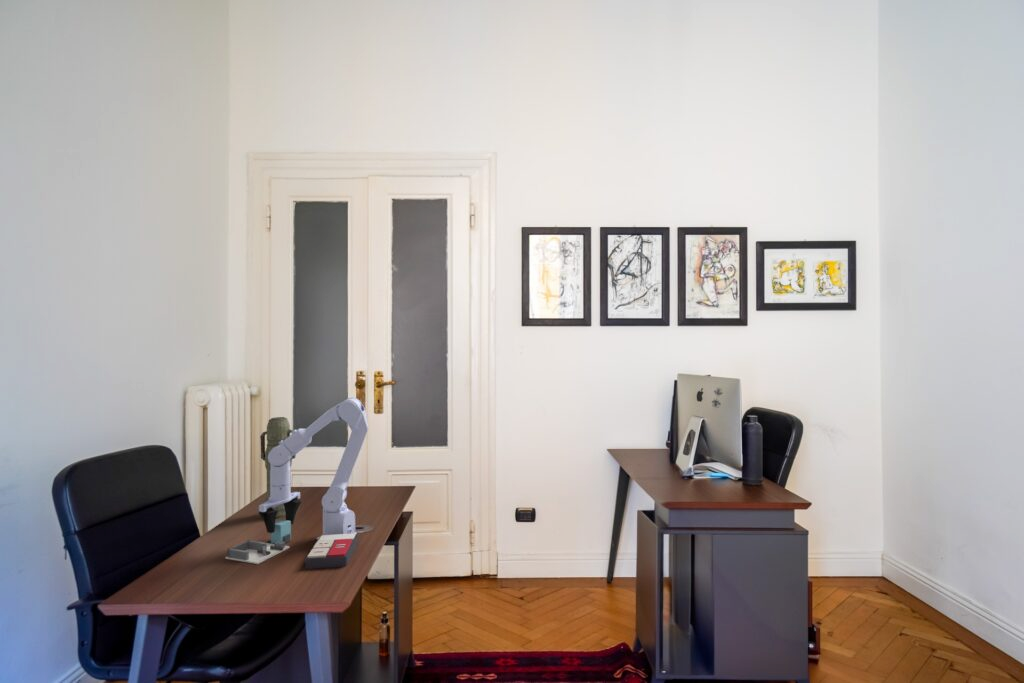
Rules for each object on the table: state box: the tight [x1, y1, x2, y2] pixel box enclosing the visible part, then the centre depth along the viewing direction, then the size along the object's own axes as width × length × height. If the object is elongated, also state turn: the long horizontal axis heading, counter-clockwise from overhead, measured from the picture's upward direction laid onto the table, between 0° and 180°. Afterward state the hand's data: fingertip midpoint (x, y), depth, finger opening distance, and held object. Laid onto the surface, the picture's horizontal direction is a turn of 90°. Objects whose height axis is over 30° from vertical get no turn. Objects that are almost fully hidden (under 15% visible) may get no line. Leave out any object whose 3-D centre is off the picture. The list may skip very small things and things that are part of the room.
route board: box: [225, 541, 291, 565], centre depth 143 cm, size 12×12×2 cm
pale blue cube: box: [270, 519, 292, 544], centre depth 151 cm, size 5×4×6 cm
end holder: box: [226, 539, 268, 560], centre depth 141 cm, size 7×7×3 cm
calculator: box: [304, 533, 359, 570], centre depth 140 cm, size 11×4×15 cm
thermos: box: [259, 416, 297, 519], centre depth 177 cm, size 9×12×35 cm
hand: (280, 528), depth 151 cm, fingers open, 7 cm apart
